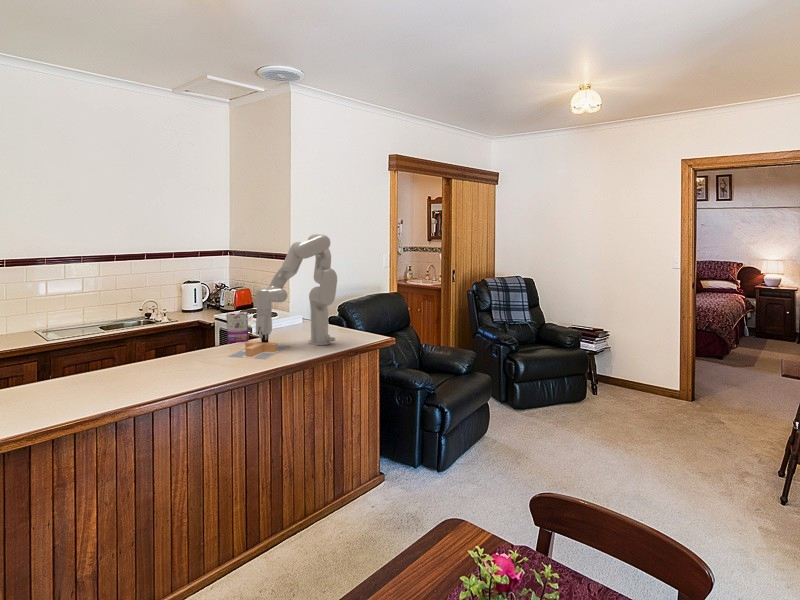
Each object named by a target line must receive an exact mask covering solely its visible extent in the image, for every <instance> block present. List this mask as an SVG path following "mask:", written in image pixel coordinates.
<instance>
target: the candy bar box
mask: <svg viewBox="0 0 800 600" xmlns="http://www.w3.org/2000/svg"><path fill="white" fill-rule="evenodd" d="M225 315H226V333H227V334H226V335H227V337H226V338H227V339H226V341H227V344H235V343H246V342H249V319H248V318H249V317H248V315H249V314H248V312H247V311H245V312H243V311H241V312H227V313H226V314H225Z"/></svg>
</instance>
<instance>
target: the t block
mask: <svg viewBox="0 0 800 600" xmlns="http://www.w3.org/2000/svg"><path fill="white" fill-rule="evenodd" d="M244 343H245V344H244V345H245V348H244V349H245V356H250V357H253V356H255V355H258V354H260V353H262V352H276V351H278V345H279V343H278V342H269V341H268V342H261V341H252V340H251V341H249V340H248V342H244Z"/></svg>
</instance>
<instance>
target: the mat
mask: <svg viewBox="0 0 800 600" xmlns="http://www.w3.org/2000/svg"><path fill="white" fill-rule="evenodd" d="M289 347H291V345H283V344H281V345H280V344H278V351H276V352H262V353H260V354H258V355H255V356H253V357H250V356H245V348H244V349H241V350H239V351H237V352H234V353H232V354H230V355H228V356H227V358H239V359H241V358H244V359H254V360H255V359H256V360H257V359H258V360H267V359H269V358H270V357H273V356H274V355H276V354H278V353H280V352H282V351H283V350H286V349H287V348H289Z"/></svg>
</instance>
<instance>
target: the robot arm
mask: <svg viewBox="0 0 800 600" xmlns="http://www.w3.org/2000/svg"><path fill="white" fill-rule="evenodd" d="M330 247H331V240H330V238H329V236H328V235H325V234H317V233H315V234H312V235H310V236H308V237H307V240H306V241H302V242H301V241H296V242H293V243H292V244H291V246H290V247H289V250H288V251H287V253H286V256H285V259H284V261H283V263H282V265H281V267H280V268H279V269H278V271H277V272H276V273H275V275H274V276H273V278H272V279H271V282H270V284H269V285H268V288H258V289H256V292H255V293H256V295H255V296H256V320H255V334H256V336H258V338H260V340H261V341H260V342H268V343H269V339H270V338H269V337H270V335H271V333H272V331H273V320H272V315H273V313H272V309H273V308H272V303H283V302H285V301H287V299H288V292H287V291H286V289H284V287H285V285H286V283H287V282H288V281H289V280H290V279H291V278H293V277H294V276H295V275H297V273H298V272H299V269H300V266H301V264H302V262H303V260H304V259H308V258H311V257H314V256H315V262H314V269H313V270H314V271H313V280H314V282H315V283H316V284H318V285H319V286H314V287H313V288H312V289H310V291H309V293H308V300H309V306H310V340H308V343H307V344H309V345H312V346H327V345H330V344H331V343H332V342H336V337H334V336H332V337H331V335H330V334H329V309H328V307H329V306H330V305H332V304H333V303H334V302H335V299H336V293H337V285H338V275H337V273H336V271H335V270H334V269H333V268H331V266H332V265H331V264H332V253H331V250H330Z"/></svg>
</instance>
